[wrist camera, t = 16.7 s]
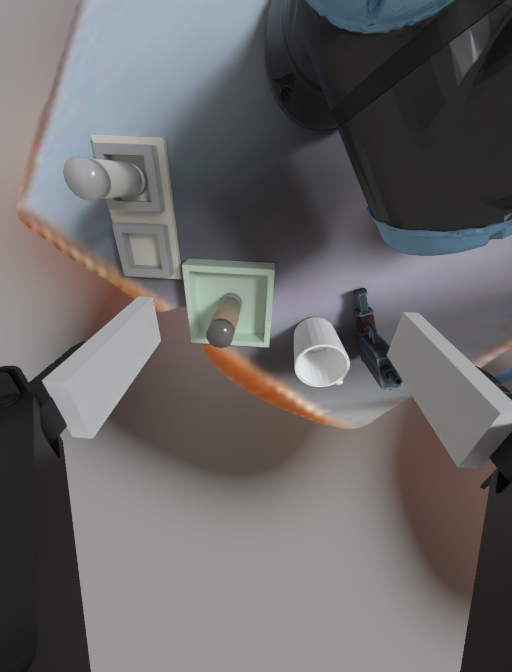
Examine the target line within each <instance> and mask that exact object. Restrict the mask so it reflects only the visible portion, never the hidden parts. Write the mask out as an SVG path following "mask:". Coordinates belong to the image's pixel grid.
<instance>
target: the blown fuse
mask: <svg viewBox="0 0 512 672" xmlns="http://www.w3.org/2000/svg"><path fill="white" fill-rule="evenodd" d="M241 306H242V300H241V298H240V297H239V296H238V295H237V294H235V293H227V294H225V295H224V296H223V297H222V299H221V301H220V303H219V305H218V307H217V309H216V312H215V314H214V316H213V318H212V320H211V323H210V325H209V328H208V330H207V333H206V338H207V340H208V342H209V343H210V344H211V345H213V346H215V347H218V348H224V347H227V346H229V345H230V344H231V342H232V340H233V336H234V334H235V330H236V326H237V322H238V319H239V315H240V311H241Z"/></svg>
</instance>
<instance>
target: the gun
mask: <svg viewBox="0 0 512 672" xmlns="http://www.w3.org/2000/svg"><path fill="white" fill-rule="evenodd" d="M353 291H354V295H355V296H356V301H357V306H358V308H357V309H355V310H354V314H355V315H356V320H357V325H358V333H357V334H356V335H357V340H358V345H359V350H360V355H361V360H362V362H363V361H364V363H365V365H366V366H367V368H368V369H369V371H370V372H371V374H372V375H373V377H374V378H375V380H376V381H377V383H378V384H379V386H380V387H381V389H382V390H386V389H389V390H391V389H392V388H398V387H401V383H402V379H401V377H400V376H399V374H398V372H397V371H396V369H395V368H394V366H393V364H392V363H391V361H390V360H389V358H388V357H387V353H388V351H389V348H390V345H389V344H388V343H387V342H385V341H384V340H383V339H382V338H381V337H380V336H379V335H378V333H377V330H376V327H375V322H374V316H373V313H374V312H373V309H371V308H370V307H368V303H367V297H366V294H367V289H365V288H360V289H356V290H353Z"/></svg>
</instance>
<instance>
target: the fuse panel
mask: <svg viewBox="0 0 512 672" xmlns="http://www.w3.org/2000/svg"><path fill="white" fill-rule="evenodd" d="M91 136H92V140H93V142H92V146H93V150H94V154H95V158H96V159H103V160H112V161H121V162H128V163H134V164H137V165H139V166H140V167H141V168H142V169H143V170H144V171H145V173H146V175H147V179H148V187H147V189H146V191H145V192H144V193H142V194H137V195H132V196H123V197H115V198H107V199H106V203H107V207H108V210H110V214H111V218H112V222H113V224H112V227H113V231H114V235H115V239H116V244H117V248H118V252H119V256H120V260H121V264H122V268H123V272H124V275H125V276H130V277H148V278H165V279H182V270H181V261H180V253H179V245H178V237H177V229H176V220H175V212H174V204H173V196H172V188H171V180H170V171H169V163H168V155H167V147H166V139H165V138H163V137H137V136H110V135H91Z"/></svg>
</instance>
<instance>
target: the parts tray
mask: <svg viewBox="0 0 512 672" xmlns="http://www.w3.org/2000/svg"><path fill="white" fill-rule="evenodd" d="M182 270H183V279H184V287H185V295H186V304H187V312H188V320H189V328H190V337H191V342H193V343H208V344H210V343H209V342H208V340H207V338H206V333H207V330H208V328H209V325H210V323H211V320H212V318H213V316H214V314H215V312H216V309H217V307H218V305H219V303H220V301H221V299H222V297H223V296H224V295H225V294H227V293H235V294H237V295H238V296H239V297H240V298H241V300H242V306H241V311H240V315H239V319H238V322H237V326H236V330H235V334H234V336H233V340H232V342H231V344H230V345H239V346H254V347H269V341H270V328H271V315H272V302H273V289H274V276H275V263H265V262H246V261H227V260H209V259H190V258H189V259H187V260H186V261H185V262H184V263H183V264H182Z"/></svg>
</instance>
